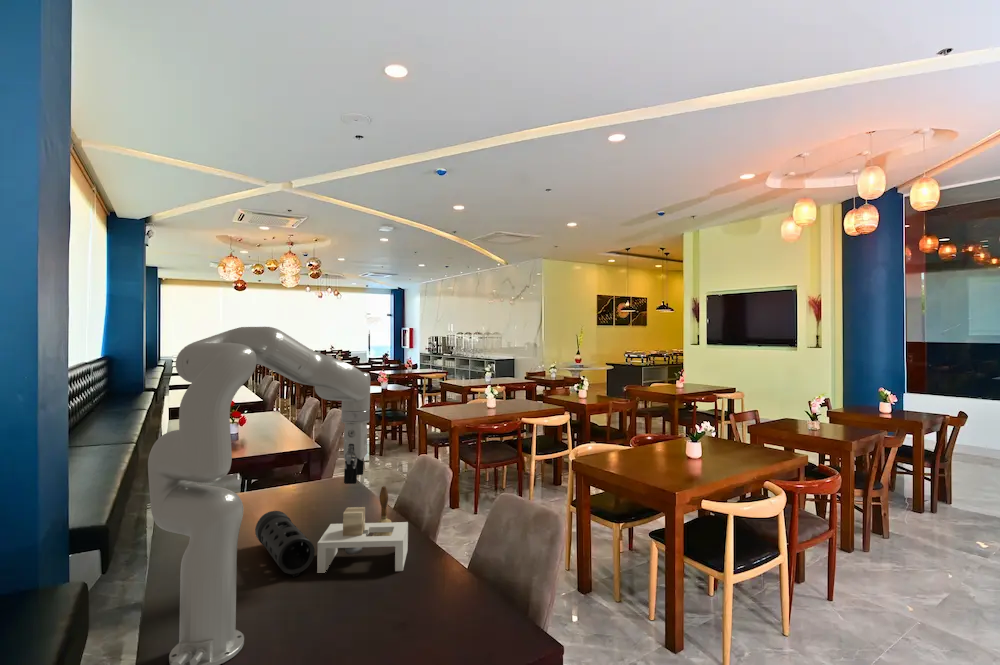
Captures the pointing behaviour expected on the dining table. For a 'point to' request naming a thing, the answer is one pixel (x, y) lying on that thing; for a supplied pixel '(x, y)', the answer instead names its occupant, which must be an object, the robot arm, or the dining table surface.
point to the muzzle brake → (284, 542)
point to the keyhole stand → (363, 542)
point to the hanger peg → (353, 525)
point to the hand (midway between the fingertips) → (354, 479)
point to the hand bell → (383, 511)
